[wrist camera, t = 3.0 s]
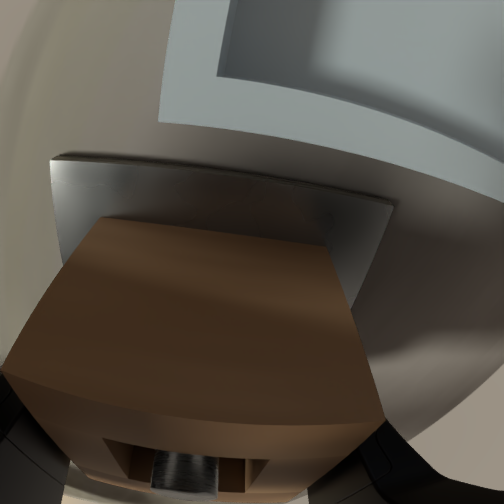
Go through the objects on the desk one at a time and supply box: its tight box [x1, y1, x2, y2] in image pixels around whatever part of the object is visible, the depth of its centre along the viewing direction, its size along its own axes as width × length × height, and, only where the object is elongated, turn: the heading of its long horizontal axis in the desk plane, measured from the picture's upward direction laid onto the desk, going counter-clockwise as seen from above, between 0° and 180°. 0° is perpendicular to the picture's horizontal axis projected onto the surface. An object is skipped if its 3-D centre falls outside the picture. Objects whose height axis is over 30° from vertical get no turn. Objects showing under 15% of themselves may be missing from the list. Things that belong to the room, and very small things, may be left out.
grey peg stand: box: [49, 156, 394, 501], centre depth 7 cm, size 9×9×6 cm
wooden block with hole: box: [0, 217, 386, 503], centre depth 8 cm, size 8×6×5 cm
